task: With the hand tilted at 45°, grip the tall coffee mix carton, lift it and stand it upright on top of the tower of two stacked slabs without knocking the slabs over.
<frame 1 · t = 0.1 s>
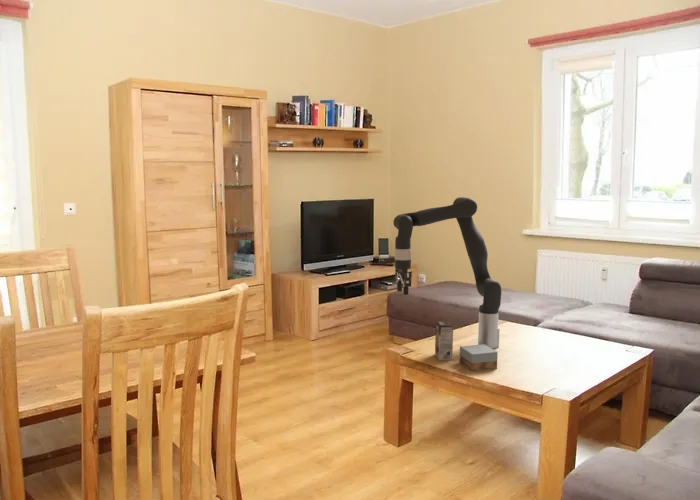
hand: (402, 292, 287), 29 cm above the table, tool pointing down, fingers open, 8 cm apart
top slab: (478, 357, 273), point 4 cm above the table
base slab: (477, 366, 274), on the table
coffee box: (443, 357, 286), on the table
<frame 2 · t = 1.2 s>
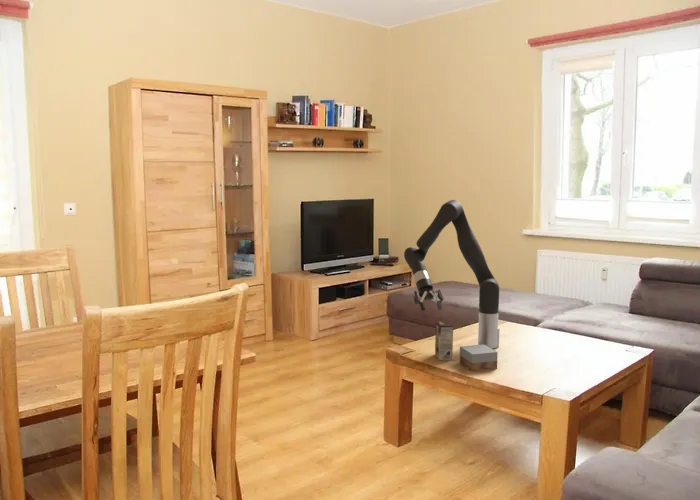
hand: (432, 309, 296), 19 cm above the table, tool tilted 45°, fingers open, 8 cm apart
top slab: (478, 358, 273), point 4 cm above the table, touching base slab
base slab: (478, 366, 274), on the table, touching top slab
everything else where it was.
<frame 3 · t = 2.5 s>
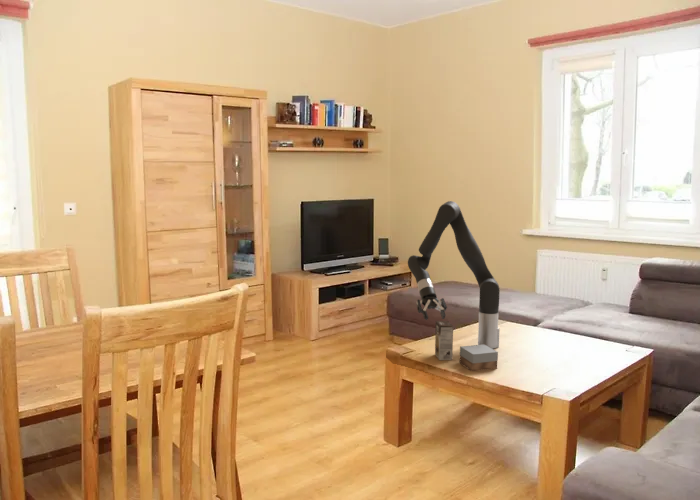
hand: (435, 318, 293), 16 cm above the table, tool tilted 45°, fingers open, 8 cm apart
nothing on the table moved.
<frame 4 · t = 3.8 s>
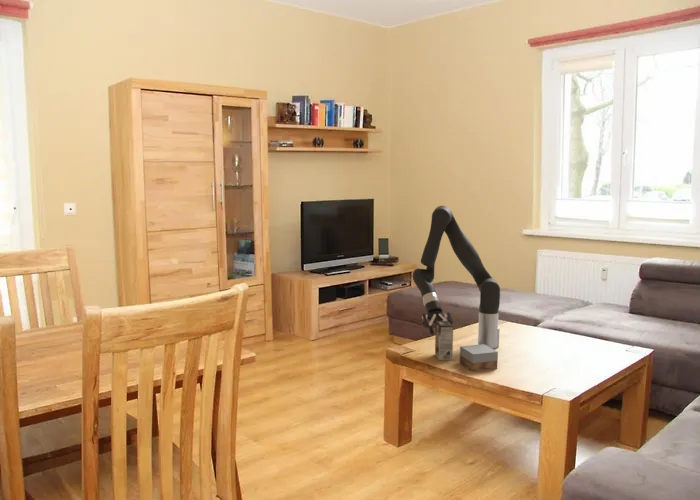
hand: (441, 333, 287), 10 cm above the table, tool tilted 45°, fingers open, 8 cm apart
nothing on the table moved.
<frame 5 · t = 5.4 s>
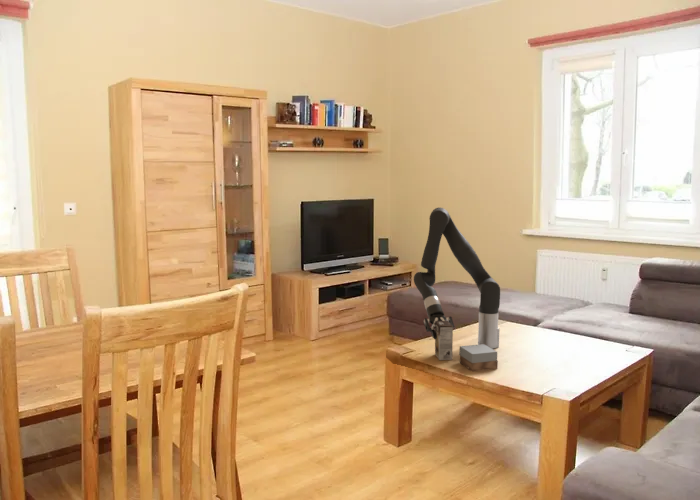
hand: (443, 337, 285), 9 cm above the table, tool tilted 45°, fingers closed on coffee box, 7 cm apart
coffee box: (443, 357, 286), on the table, touching gripper
everything else where it was.
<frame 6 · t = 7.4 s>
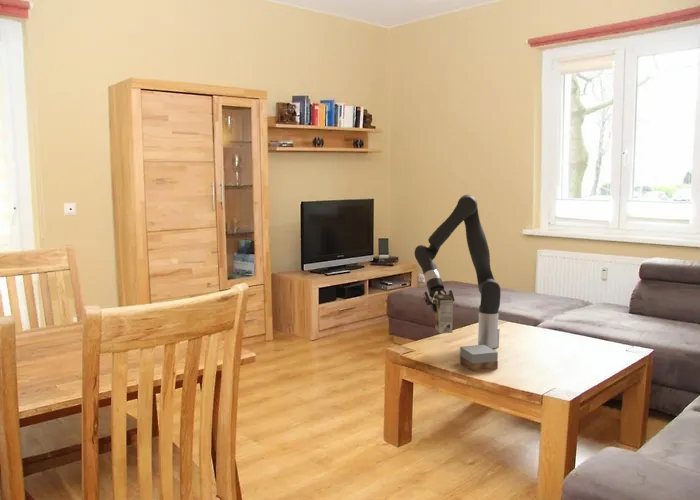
hand: (443, 311, 284), 21 cm above the table, tool tilted 45°, fingers closed on coffee box, 7 cm apart
coffee box: (443, 330, 284), point 12 cm above the table, touching gripper
everything else where it was.
when the fingers open (18 cm above the table, at t = 11.1 s): coffee box drops 2 cm, resting on top slab.
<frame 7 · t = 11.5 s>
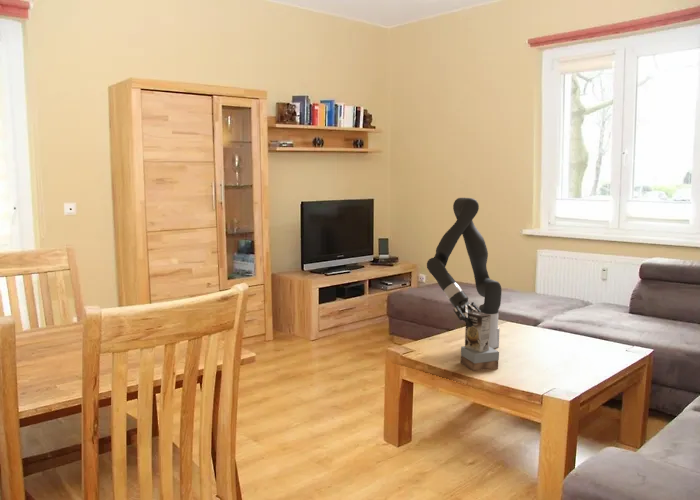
hand: (477, 324, 272), 18 cm above the table, tool tilted 45°, fingers open, 8 cm apart
top slab: (479, 357, 274), point 3 cm above the table, touching base slab, coffee box
coffee box: (476, 349, 274), point 7 cm above the table, touching top slab
everything else where it was.
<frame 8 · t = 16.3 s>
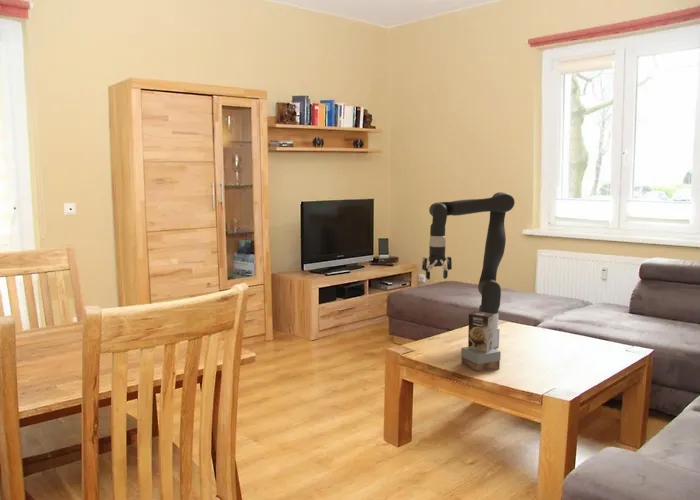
hand: (436, 278, 295), 34 cm above the table, tool pointing down, fingers open, 8 cm apart
top slab: (480, 358, 272), point 4 cm above the table, touching base slab, coffee box
coffee box: (480, 349, 272), point 8 cm above the table, touching top slab
everything else where it was.
at the end: coffee box inside the target area on the top slab (0.8 cm from its centre), point 3.9 cm above the top slab's base; coffee box tilted 2°; top slab 0.6 cm off-centre on the base slab, point 4.0 cm above the base slab's base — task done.
